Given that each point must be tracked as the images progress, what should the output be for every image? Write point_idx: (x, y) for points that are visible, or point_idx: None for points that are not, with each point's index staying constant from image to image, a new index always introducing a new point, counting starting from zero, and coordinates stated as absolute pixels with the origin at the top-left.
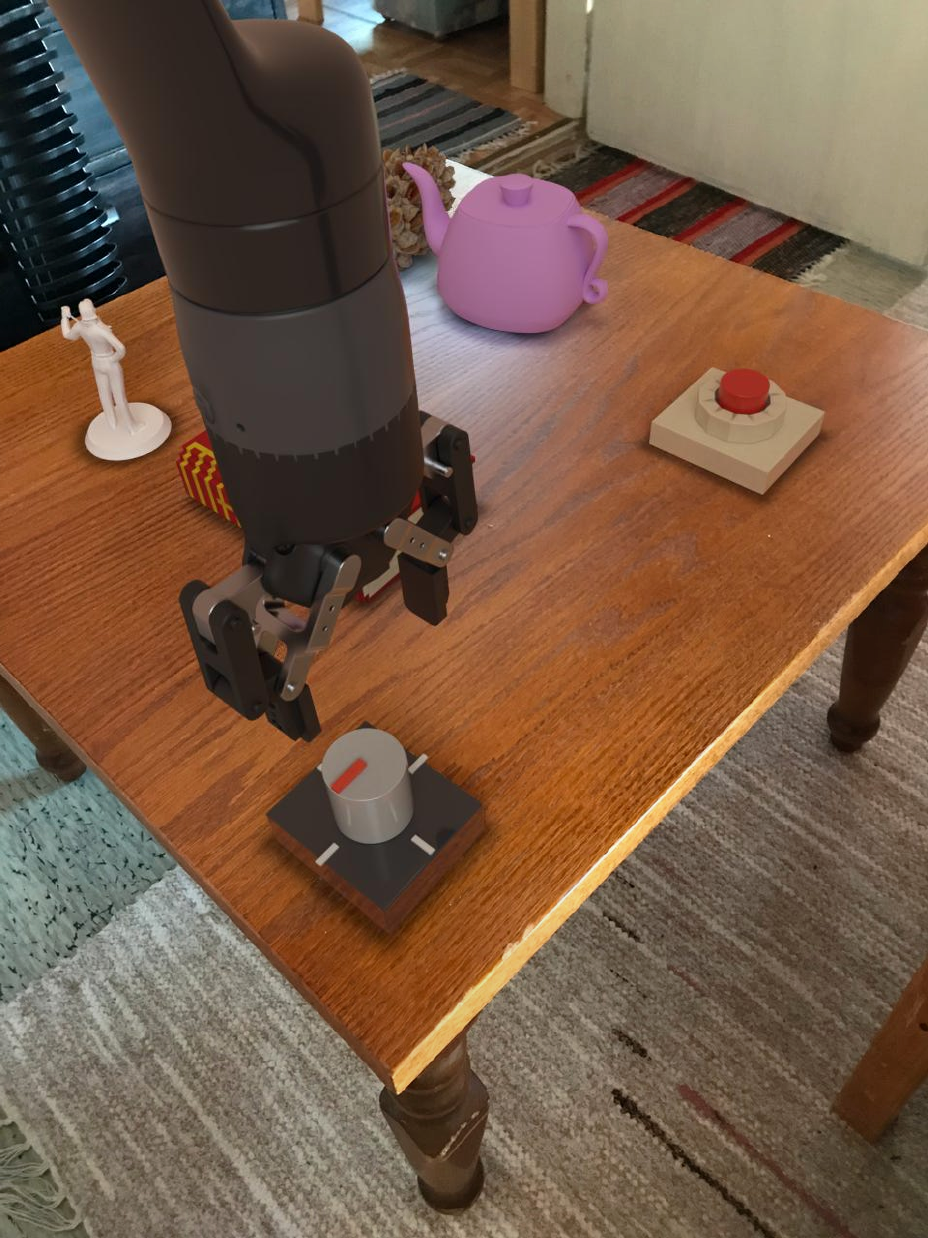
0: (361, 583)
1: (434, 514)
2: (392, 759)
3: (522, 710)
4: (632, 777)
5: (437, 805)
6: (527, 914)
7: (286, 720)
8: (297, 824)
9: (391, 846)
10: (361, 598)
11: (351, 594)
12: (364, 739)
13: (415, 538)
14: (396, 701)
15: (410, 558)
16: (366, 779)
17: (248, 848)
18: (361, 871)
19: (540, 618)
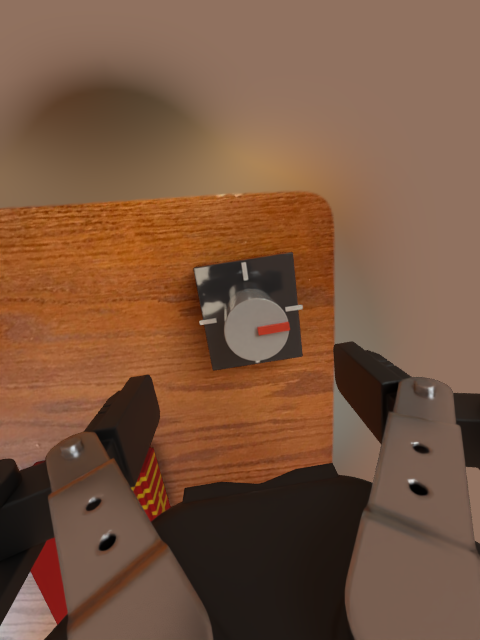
0: (273, 496)
1: (27, 530)
2: (238, 319)
3: (119, 316)
4: (91, 226)
5: (218, 288)
6: (214, 202)
7: (395, 367)
8: (293, 337)
9: (260, 285)
10: (150, 448)
11: (301, 484)
12: (243, 347)
13: (95, 540)
14: (180, 374)
15: (122, 472)
16: (264, 318)
17: (308, 350)
18: (285, 284)
19: (59, 364)
